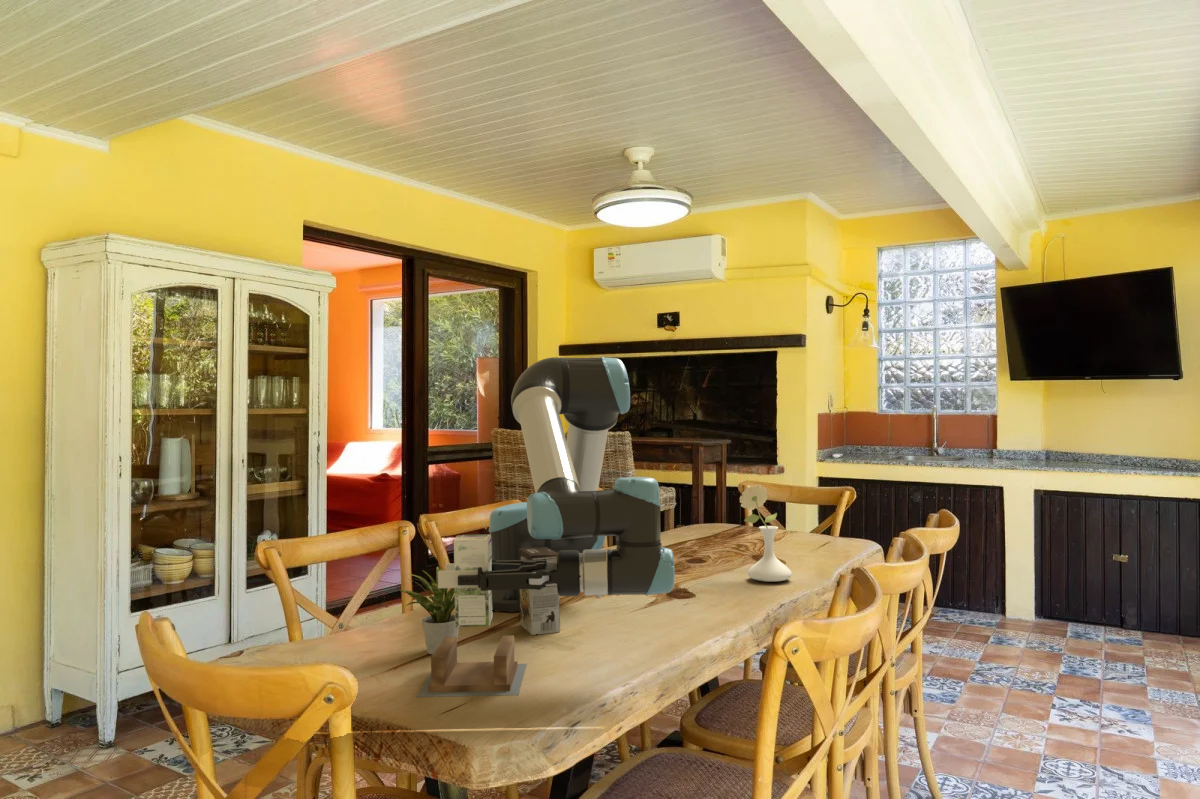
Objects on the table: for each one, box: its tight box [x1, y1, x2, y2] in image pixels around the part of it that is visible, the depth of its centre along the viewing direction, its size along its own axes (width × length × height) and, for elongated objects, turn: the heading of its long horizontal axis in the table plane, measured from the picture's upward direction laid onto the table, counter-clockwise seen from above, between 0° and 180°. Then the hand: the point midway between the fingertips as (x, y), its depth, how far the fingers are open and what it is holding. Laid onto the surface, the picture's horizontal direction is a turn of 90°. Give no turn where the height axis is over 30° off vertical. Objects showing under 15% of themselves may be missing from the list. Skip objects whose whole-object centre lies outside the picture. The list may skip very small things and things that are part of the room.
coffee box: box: [519, 547, 561, 636], centre depth 168 cm, size 9×6×16 cm
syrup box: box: [453, 533, 494, 628], centre depth 135 cm, size 6×6×14 cm
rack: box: [428, 635, 518, 692], centre depth 135 cm, size 13×12×6 cm
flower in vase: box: [739, 483, 793, 583], centre depth 211 cm, size 13×11×25 cm
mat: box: [415, 663, 528, 698], centre depth 135 cm, size 16×16×1 cm
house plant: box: [399, 566, 460, 655], centre depth 154 cm, size 14×14×16 cm
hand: (442, 575), depth 135 cm, fingers closed on syrup box, 6 cm apart
